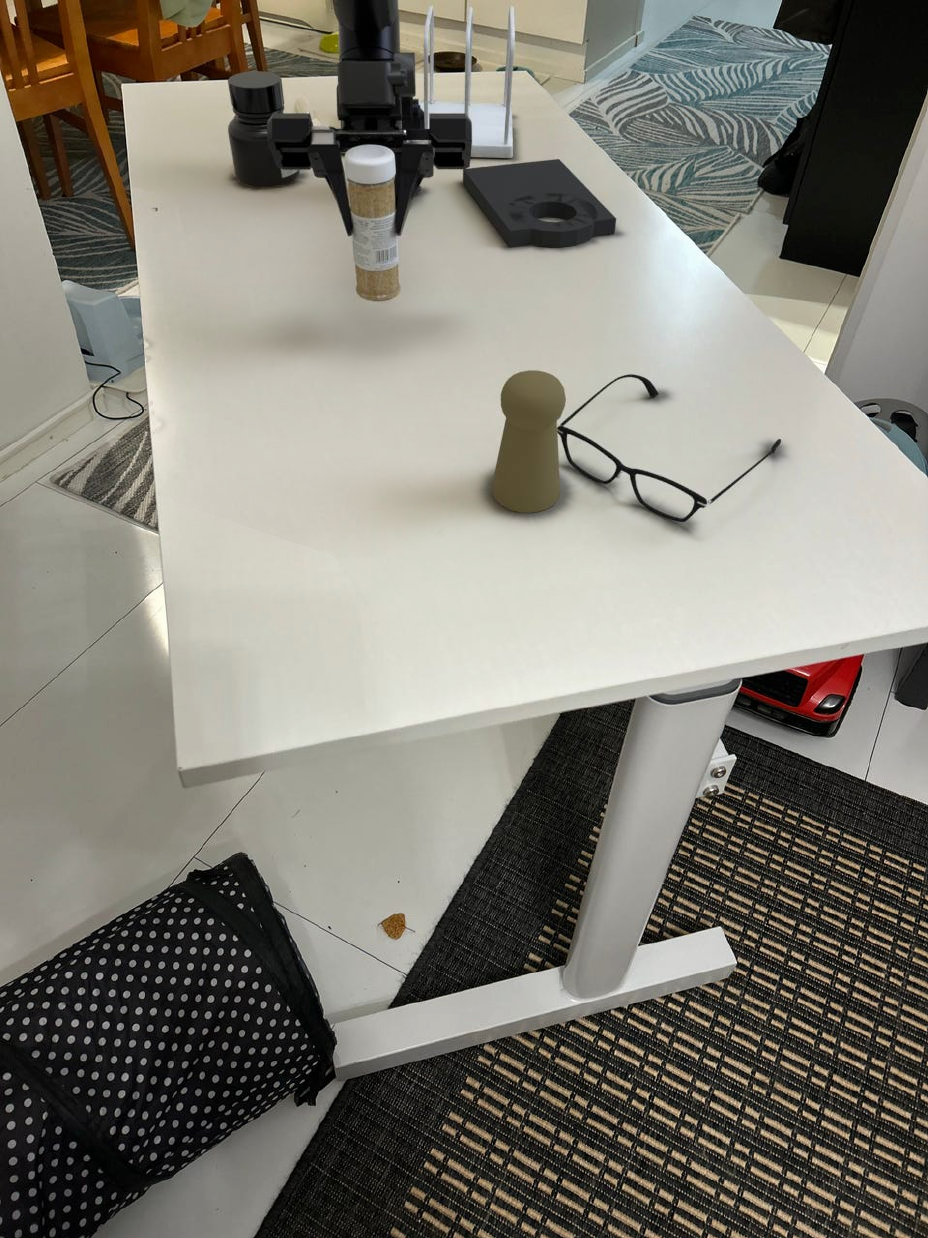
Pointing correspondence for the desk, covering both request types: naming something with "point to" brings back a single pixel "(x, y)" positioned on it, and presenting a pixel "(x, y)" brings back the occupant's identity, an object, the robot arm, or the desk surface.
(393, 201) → the sprinkles bottle
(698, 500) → the eyeglasses
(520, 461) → the olive game pawn
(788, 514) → the desk surface
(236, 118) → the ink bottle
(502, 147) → the file sorter
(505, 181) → the pad
